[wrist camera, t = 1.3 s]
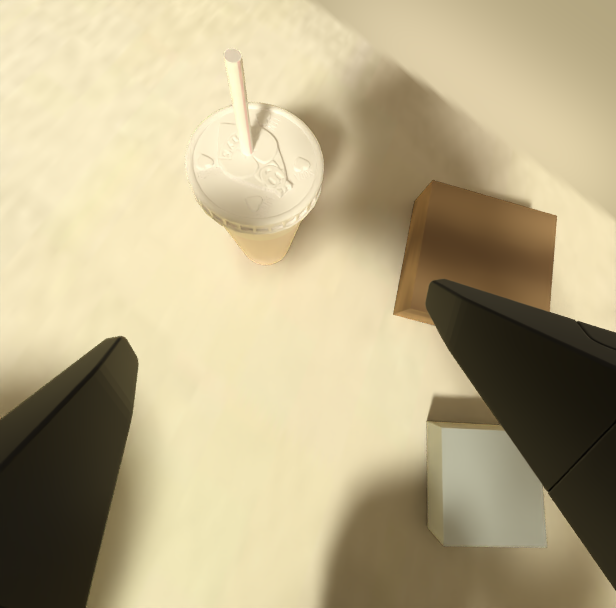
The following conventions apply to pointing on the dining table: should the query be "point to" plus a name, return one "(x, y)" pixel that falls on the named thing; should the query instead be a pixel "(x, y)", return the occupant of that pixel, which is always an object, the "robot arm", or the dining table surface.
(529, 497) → the grey tile
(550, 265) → the walnut block
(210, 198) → the smoothie
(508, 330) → the robot arm
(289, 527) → the dining table surface
